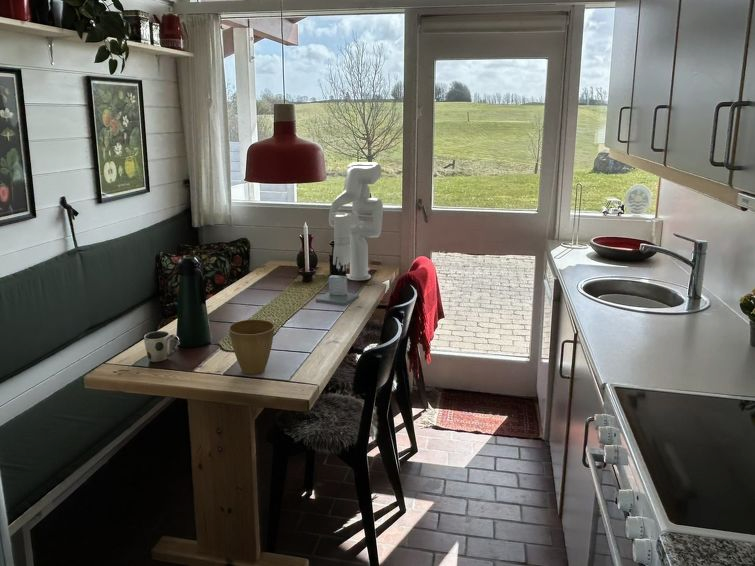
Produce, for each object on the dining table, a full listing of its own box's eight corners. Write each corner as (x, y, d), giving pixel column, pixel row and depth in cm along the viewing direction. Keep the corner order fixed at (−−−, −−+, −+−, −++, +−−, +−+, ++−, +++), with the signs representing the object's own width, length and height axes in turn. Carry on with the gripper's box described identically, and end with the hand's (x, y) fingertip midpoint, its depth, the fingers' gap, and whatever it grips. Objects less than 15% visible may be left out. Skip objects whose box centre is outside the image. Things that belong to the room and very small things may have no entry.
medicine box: (347, 293, 298) (347, 275, 295) (345, 296, 293) (344, 278, 291) (331, 292, 299) (331, 275, 297) (328, 295, 295) (328, 277, 293)
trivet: (330, 293, 302) (330, 290, 302) (358, 296, 297) (358, 294, 296) (315, 301, 289) (315, 299, 289) (344, 305, 283) (344, 302, 283)
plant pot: (224, 378, 206) (221, 332, 201) (241, 361, 220) (238, 318, 215) (268, 381, 203) (265, 335, 199) (281, 363, 217) (280, 320, 213)
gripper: (342, 237, 302) (342, 274, 307) (327, 243, 289) (328, 281, 294) (356, 238, 299) (356, 275, 304) (342, 244, 286) (342, 283, 291)
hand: (342, 278), depth 299 cm, fingers closed
